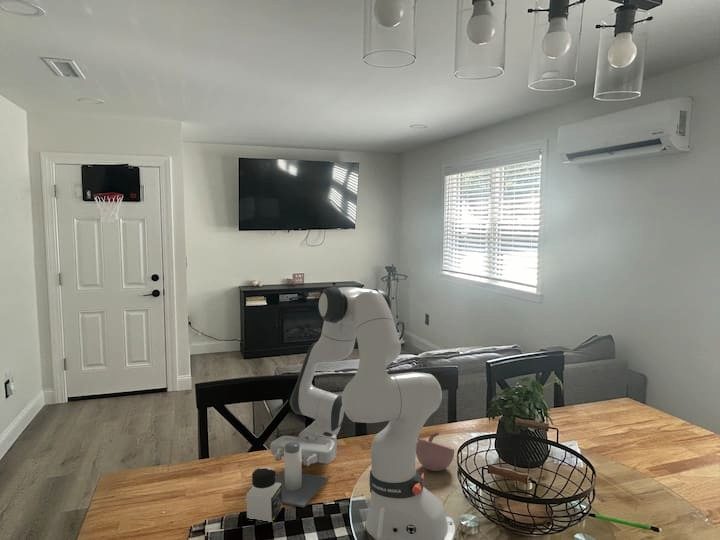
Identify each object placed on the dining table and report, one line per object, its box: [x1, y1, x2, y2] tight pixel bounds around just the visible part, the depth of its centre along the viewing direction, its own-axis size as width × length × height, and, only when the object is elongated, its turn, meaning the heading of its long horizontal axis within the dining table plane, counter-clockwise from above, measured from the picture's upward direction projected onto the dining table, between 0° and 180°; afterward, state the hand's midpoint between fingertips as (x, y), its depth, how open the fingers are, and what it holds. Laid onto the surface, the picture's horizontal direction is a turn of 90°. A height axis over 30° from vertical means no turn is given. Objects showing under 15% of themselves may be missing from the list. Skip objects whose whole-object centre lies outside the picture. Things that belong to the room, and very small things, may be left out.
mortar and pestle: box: [416, 431, 455, 472], centre depth 150 cm, size 12×12×12 cm
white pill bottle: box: [283, 442, 303, 491], centre depth 140 cm, size 5×5×12 cm
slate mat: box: [275, 469, 329, 508], centre depth 140 cm, size 15×16×1 cm
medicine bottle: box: [245, 466, 283, 523], centre depth 127 cm, size 7×7×12 cm
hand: (290, 460), depth 139 cm, fingers open, 8 cm apart
